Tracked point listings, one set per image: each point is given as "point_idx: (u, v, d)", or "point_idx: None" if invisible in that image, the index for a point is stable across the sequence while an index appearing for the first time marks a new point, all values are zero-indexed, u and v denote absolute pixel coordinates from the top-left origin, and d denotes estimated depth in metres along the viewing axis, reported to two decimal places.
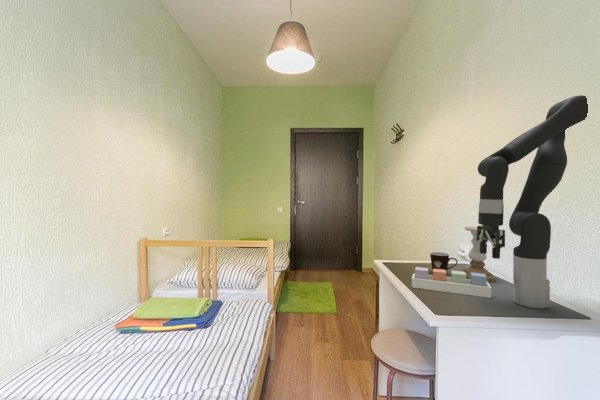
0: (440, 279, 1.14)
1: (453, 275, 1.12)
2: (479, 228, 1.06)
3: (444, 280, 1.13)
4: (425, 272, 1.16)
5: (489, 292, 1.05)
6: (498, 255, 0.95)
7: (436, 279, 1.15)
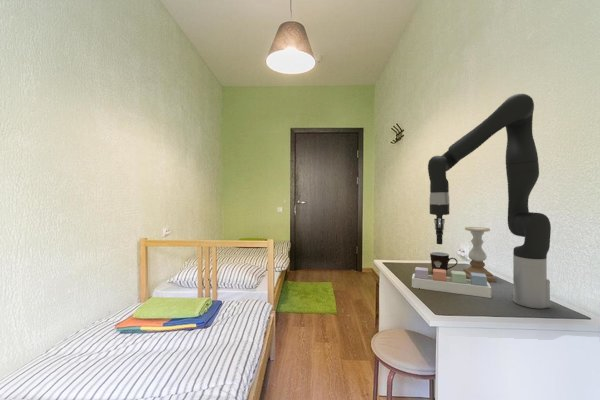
0: (440, 279, 1.14)
1: (453, 275, 1.12)
2: None
3: (444, 280, 1.13)
4: (425, 272, 1.16)
5: (489, 292, 1.05)
6: None
7: (436, 279, 1.15)
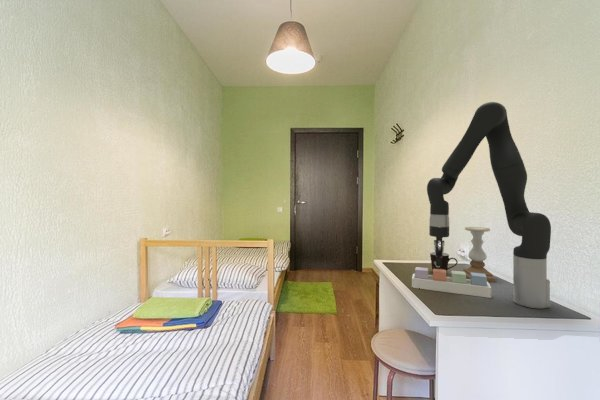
0: (440, 279, 1.14)
1: (453, 275, 1.12)
2: None
3: (444, 280, 1.13)
4: (425, 272, 1.16)
5: (489, 292, 1.05)
6: None
7: (436, 279, 1.15)
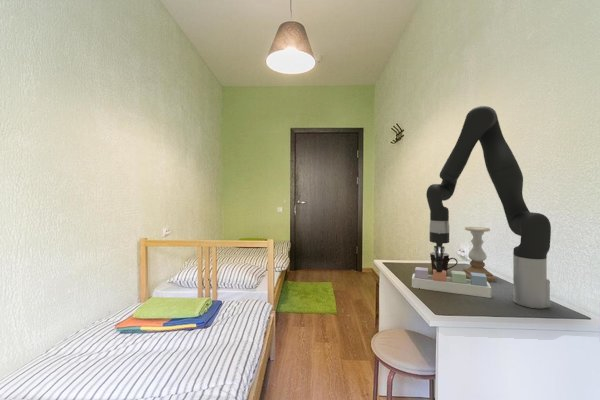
0: (440, 280, 1.14)
1: (453, 275, 1.12)
2: None
3: (444, 281, 1.13)
4: (425, 272, 1.16)
5: (489, 292, 1.05)
6: None
7: (436, 280, 1.15)
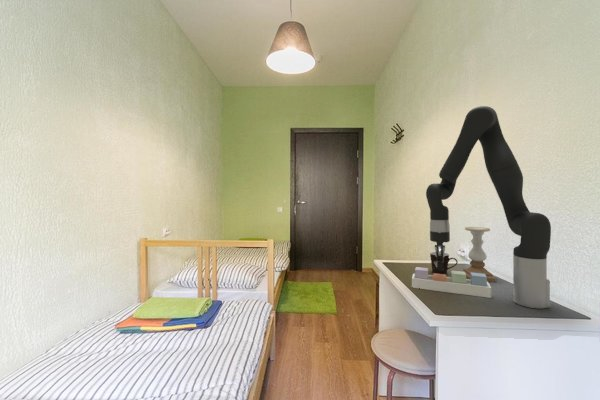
0: None
1: (453, 275, 1.12)
2: None
3: None
4: (425, 272, 1.16)
5: (489, 292, 1.05)
6: None
7: None
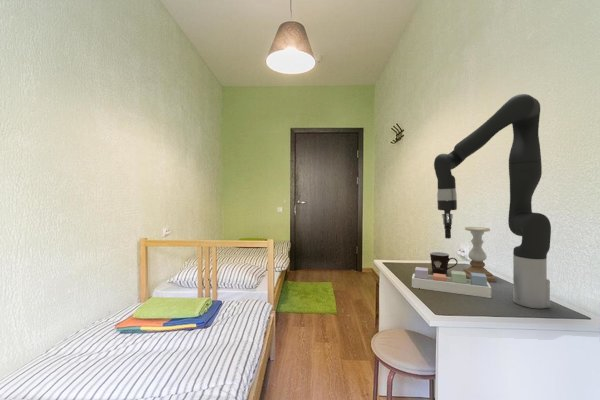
0: None
1: (453, 275, 1.12)
2: None
3: None
4: (425, 272, 1.16)
5: (489, 292, 1.05)
6: None
7: None
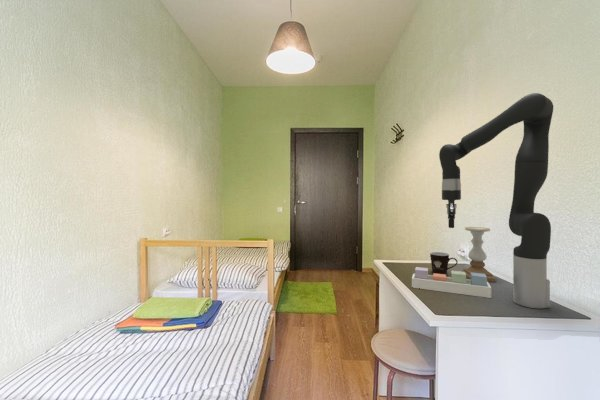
0: None
1: (453, 275, 1.12)
2: None
3: None
4: (425, 272, 1.16)
5: (489, 292, 1.05)
6: None
7: None
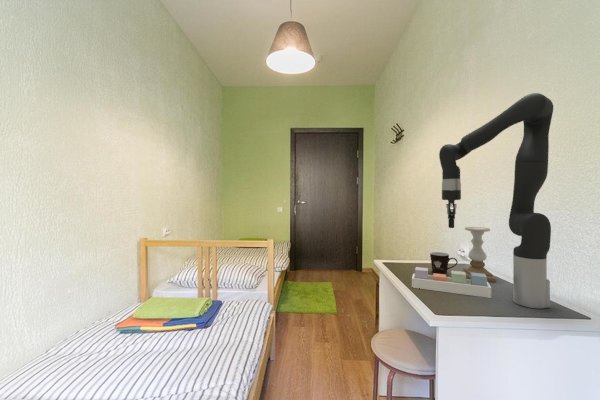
0: None
1: (453, 275, 1.12)
2: None
3: None
4: (425, 272, 1.16)
5: (489, 292, 1.05)
6: None
7: None
